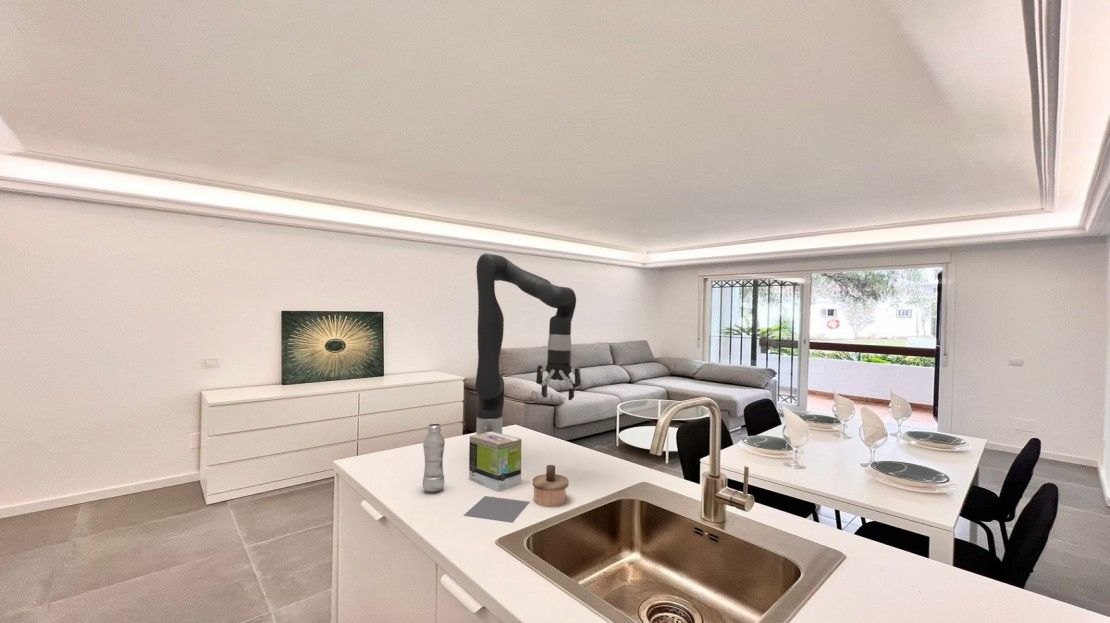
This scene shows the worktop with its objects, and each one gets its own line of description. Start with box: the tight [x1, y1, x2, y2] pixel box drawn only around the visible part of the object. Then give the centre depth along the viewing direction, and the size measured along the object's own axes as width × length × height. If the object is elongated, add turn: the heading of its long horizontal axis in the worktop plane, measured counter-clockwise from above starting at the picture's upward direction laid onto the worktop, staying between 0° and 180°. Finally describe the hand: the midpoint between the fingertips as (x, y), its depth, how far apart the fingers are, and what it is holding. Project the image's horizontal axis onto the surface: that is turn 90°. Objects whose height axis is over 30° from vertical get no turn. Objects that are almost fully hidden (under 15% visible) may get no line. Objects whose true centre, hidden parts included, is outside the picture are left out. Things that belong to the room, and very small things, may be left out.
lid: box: [532, 464, 570, 491], centre depth 136 cm, size 10×10×5 cm
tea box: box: [468, 431, 522, 492], centre depth 150 cm, size 15×10×15 cm
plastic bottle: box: [421, 423, 446, 493], centre depth 142 cm, size 6×7×20 cm
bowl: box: [533, 486, 567, 507], centre depth 135 cm, size 9×9×5 cm
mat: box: [462, 495, 531, 524], centre depth 129 cm, size 14×14×1 cm
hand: (557, 398), depth 151 cm, fingers open, 8 cm apart
